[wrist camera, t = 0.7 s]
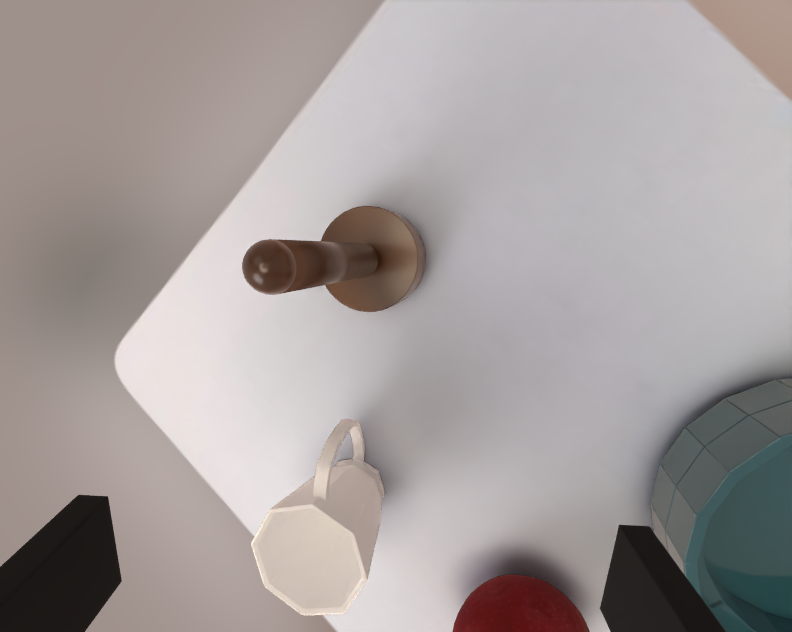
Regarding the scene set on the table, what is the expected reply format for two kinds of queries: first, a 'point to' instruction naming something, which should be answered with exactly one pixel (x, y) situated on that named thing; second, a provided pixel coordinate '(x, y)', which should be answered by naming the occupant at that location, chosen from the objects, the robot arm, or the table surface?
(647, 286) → the table surface
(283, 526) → the cup
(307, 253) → the coffee tamper
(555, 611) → the apple
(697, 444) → the bowl
